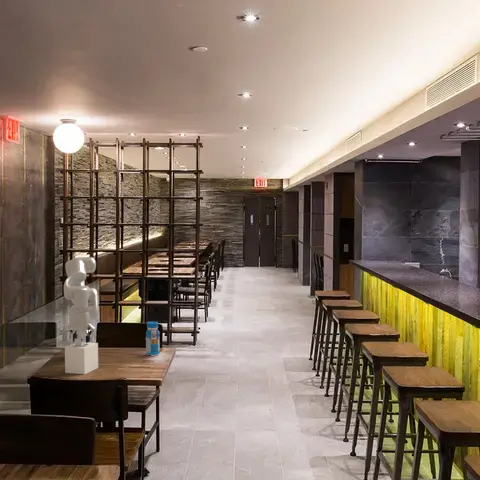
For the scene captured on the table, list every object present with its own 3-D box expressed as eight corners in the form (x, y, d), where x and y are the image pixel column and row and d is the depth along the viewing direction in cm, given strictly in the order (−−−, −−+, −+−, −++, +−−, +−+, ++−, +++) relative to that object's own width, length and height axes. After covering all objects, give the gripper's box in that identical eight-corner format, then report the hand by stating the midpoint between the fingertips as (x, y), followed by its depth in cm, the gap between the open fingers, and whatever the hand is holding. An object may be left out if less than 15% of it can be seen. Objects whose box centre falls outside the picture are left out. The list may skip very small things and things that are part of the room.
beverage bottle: (143, 355, 356) (142, 323, 355) (150, 352, 364) (149, 320, 363) (155, 356, 353) (155, 323, 352) (162, 353, 361) (161, 321, 360)
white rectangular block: (75, 356, 320) (74, 338, 320) (80, 354, 326) (80, 336, 326) (81, 357, 319) (81, 339, 319) (87, 354, 325) (86, 336, 324)
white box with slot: (65, 372, 318) (64, 347, 317) (79, 366, 331) (79, 341, 331) (84, 374, 314) (84, 348, 314) (98, 367, 328) (97, 343, 327)
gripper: (63, 310, 320) (63, 342, 321) (91, 311, 315) (91, 344, 316) (71, 308, 328) (71, 339, 328) (98, 309, 323) (99, 341, 323)
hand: (81, 341), depth 322 cm, fingers open, 7 cm apart
